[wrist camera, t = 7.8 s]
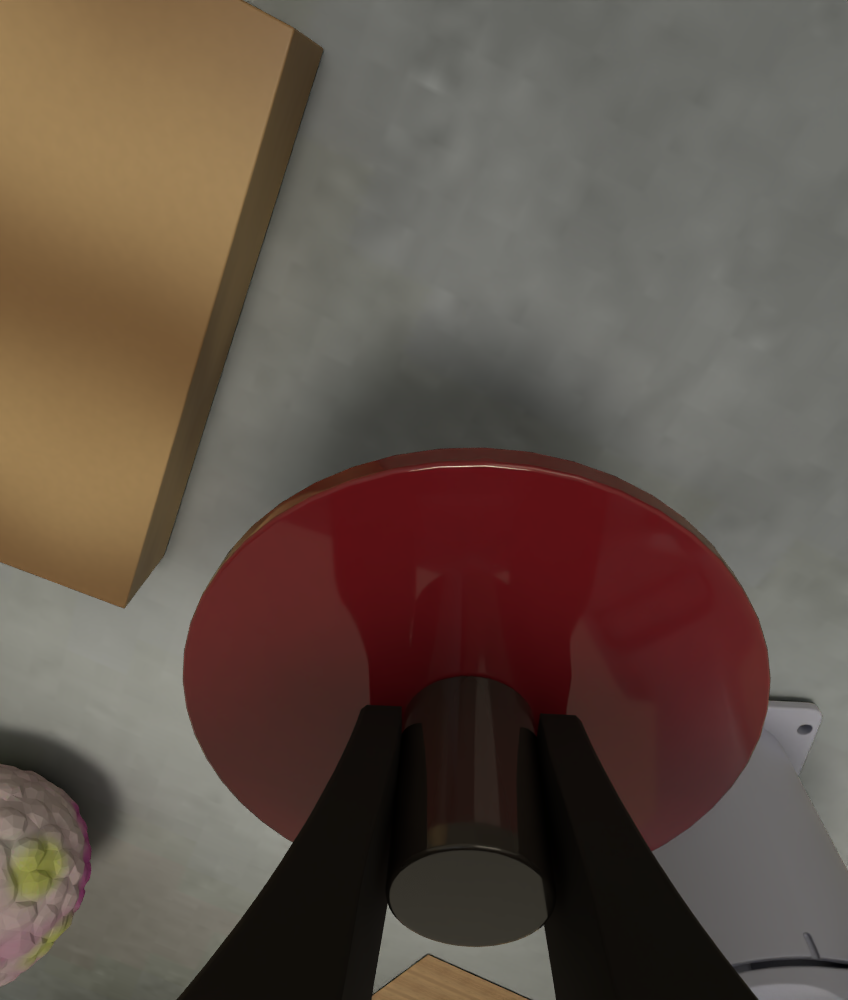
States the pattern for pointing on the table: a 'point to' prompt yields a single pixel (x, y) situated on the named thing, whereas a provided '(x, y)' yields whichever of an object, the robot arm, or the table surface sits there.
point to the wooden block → (126, 260)
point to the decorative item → (37, 867)
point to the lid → (476, 665)
